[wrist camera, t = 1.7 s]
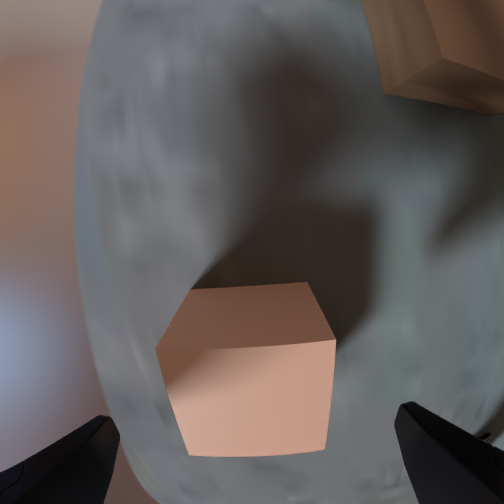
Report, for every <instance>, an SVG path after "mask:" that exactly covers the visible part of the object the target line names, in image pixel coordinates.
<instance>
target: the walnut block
mask: <svg viewBox="0 0 504 504" xmlns="http://www.w3.org/2000/svg"><path fill="white" fill-rule="evenodd" d="M362 3H363V7H364V10H365V13H366V17H367V21H368V24H369V28H370V32H371V36H372V40H373V44H374V49H375V53H376V58H377V63H378V68H379V73H380V79H381V84H382V90H383V95H390V96H398V97H405V98H412V99H418V100H423V101H429V102H434V103H439V104H444V105H449V106H453V107H457V108H462V109H466V110H470V111H473V112H477V113H481V114H484V115H488V116H491V115H496V114H501V113H504V0H362Z"/></svg>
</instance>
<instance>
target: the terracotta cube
mask: <svg viewBox="0 0 504 504" xmlns="http://www.w3.org/2000/svg"><path fill="white" fill-rule="evenodd" d="M335 350H336V338H335V336H334V334H333V332H332V330H331V328H330V326H329V324H328V322H327V320H326V318H325V316H324V314H323V312H322V310H321V308H320V306H319V304H318V302H317V300H316V298H315V296H314V294H313V292H312V290H311V288H310V286H309V284H308V283H307V282H297V283H284V284H271V285H256V286H241V287H225V288H207V289H190V291H189V292H188V294H187V296H186V297H185V299H184V301H183V302H182V304H181V306H180V307H179V309H178V311H177V312H176V314H175V316H174V318H173V319H172V321H171V323H170V324H169V326H168V328H167V330H166V331H165V333H164V335H163V336H162V338H161V340H160V342H159V343H158V345H157V347H156V353H157V357H158V361H159V365H160V368H161V372H162V375H163V379H164V382H165V386H166V389H167V392H168V395H169V399H170V402H171V405H172V408H173V411H174V414H175V417H176V420H177V423H178V426H179V429H180V431H181V434H182V437H183V440H184V442H185V445H186V448H187V450H188V453H189V455H195V456H217V457H248V456H271V455H284V454H295V453H304V452H312V451H320V450H325V444H326V437H327V430H328V422H329V414H330V406H331V396H332V387H333V376H334V364H335Z"/></svg>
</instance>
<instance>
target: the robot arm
mask: <svg viewBox="0 0 504 504" xmlns="http://www.w3.org/2000/svg"><path fill="white" fill-rule="evenodd" d="M394 426H395V431H396V434H397V438H398V442H399V445H400V449H401V453H402V457H403V461H404V465H405V467H406V470H407V473H408V475H409V478H410V481H411V483H412V486H413V489H414V491H415V494H416V497H417V499H418V502H419V504H504V451H503V450H501V449H499V448H497V447H495V446H492V445H491V444H489V441H490V439H491V438H492V435H491V434H490V433H489V434H487V435H485V436H483V437H481V438H480V439H479V438H478V437H476V436H474V435H472V434H470V433H468V432H466V431H465V430H463V429H461V428H459V427H457V426H455V425H454V424H452V423H450V422H448V421H447V420H445V419H443V418H441V417H439V416H438V415H436V414H434V413H432V412H431V411H429V410H427V409H425V408H424V407H422V406H420V405H419V404H417V403H415V402H413V401H410V402H407V403H403V404H401V405H400V406H399V409H398V413H397V416H396V419H395V423H394ZM119 441H120V434H119V431H118V429H117V427H116V425H115V423H114V421H113V419H112V418H111V417H109V416H104V415H98V416H96V417H95V418H93V419H92V420H90V421H89V422H87V423H85V424H84V425H82V426H81V427H79V428H77V429H76V430H74V431H73V432H71V433H69V434H68V435H66V436H65V437H63V438H61V439H60V440H58V441H56V442H55V443H53V444H51V445H50V446H48V447H46V448H45V449H43V450H41V451H39V452H38V453H36V454H34V455H32V456H31V457H29V458H27V459H25V461H22V462H20V463H18V464H17V465H14V466H13V467H11V468H9V469H7V470H5V471H2V472H0V504H103V503H104V500H105V497H106V494H107V490H108V487H109V484H110V481H111V478H112V474H113V470H114V464H115V460H116V455H117V450H118V446H119Z"/></svg>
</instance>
